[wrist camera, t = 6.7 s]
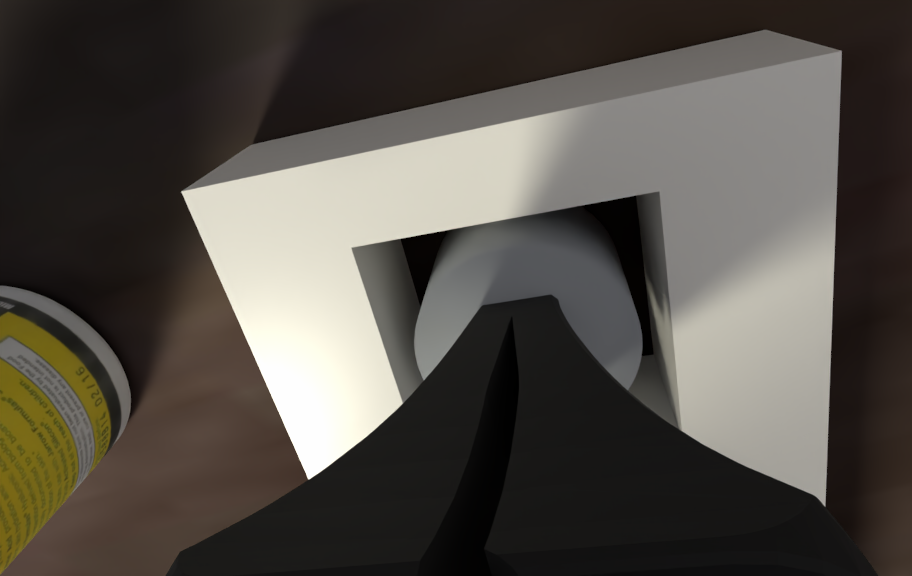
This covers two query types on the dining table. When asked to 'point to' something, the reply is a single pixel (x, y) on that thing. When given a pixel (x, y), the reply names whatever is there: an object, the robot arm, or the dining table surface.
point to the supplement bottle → (51, 411)
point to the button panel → (548, 189)
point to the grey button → (533, 284)
